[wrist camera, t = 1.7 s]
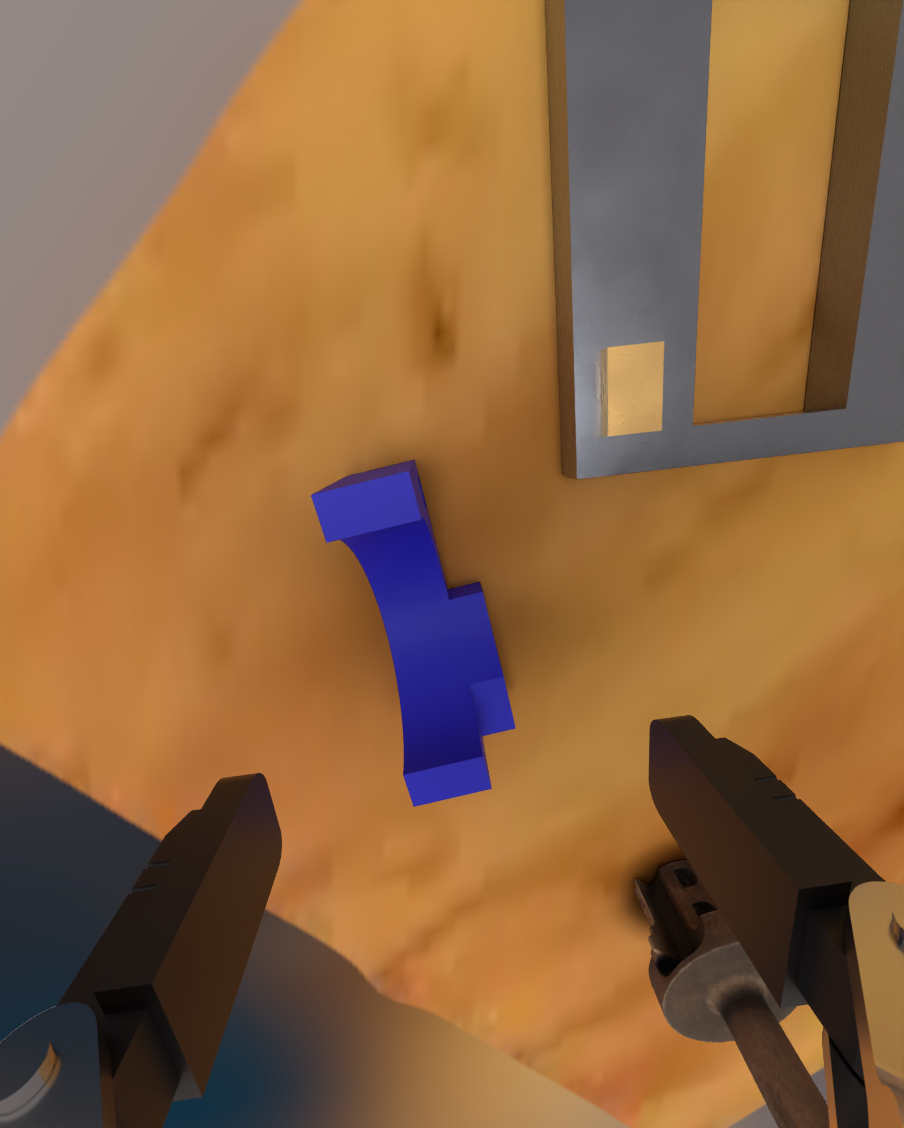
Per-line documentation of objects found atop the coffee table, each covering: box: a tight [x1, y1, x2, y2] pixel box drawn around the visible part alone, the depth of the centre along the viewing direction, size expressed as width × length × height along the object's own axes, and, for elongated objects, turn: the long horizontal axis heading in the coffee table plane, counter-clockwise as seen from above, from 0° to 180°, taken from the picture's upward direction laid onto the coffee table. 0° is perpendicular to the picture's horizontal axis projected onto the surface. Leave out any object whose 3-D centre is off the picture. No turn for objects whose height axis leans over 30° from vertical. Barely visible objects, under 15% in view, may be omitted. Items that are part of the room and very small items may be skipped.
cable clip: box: [311, 460, 515, 807], centre depth 18 cm, size 12×4×6 cm, turn 13°
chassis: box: [545, 0, 904, 479], centre depth 16 cm, size 15×17×3 cm
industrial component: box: [634, 860, 830, 1128], centre depth 21 cm, size 9×7×12 cm
